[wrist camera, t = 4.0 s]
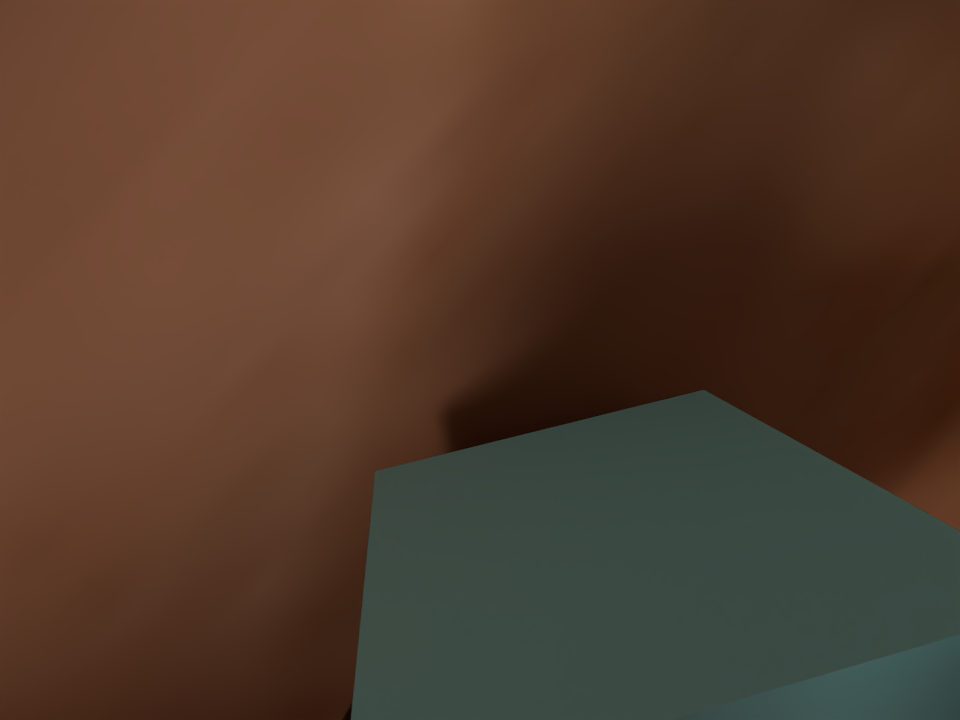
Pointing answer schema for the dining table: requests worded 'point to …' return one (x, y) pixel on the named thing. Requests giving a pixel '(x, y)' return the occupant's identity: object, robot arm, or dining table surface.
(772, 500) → the teal block
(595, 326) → the dining table surface
